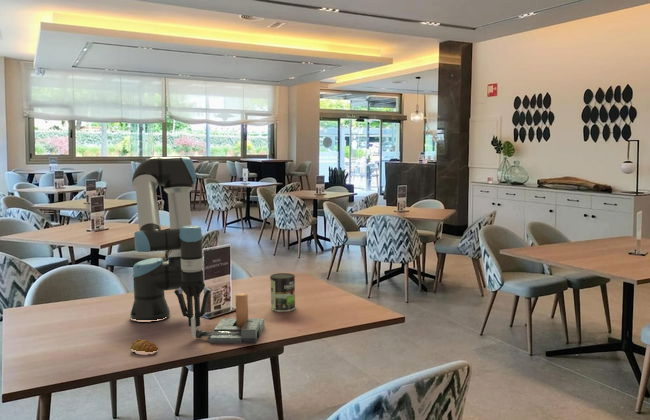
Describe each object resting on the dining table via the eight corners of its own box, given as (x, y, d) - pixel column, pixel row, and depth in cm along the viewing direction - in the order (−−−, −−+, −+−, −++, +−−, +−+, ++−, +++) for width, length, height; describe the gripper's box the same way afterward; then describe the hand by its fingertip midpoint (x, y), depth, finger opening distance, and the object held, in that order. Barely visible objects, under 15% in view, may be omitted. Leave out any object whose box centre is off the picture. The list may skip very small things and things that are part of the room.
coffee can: (300, 307, 238) (299, 274, 237) (284, 313, 230) (283, 279, 229) (282, 303, 245) (281, 271, 243) (265, 309, 236) (264, 276, 235)
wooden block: (238, 330, 211) (236, 293, 209) (249, 330, 210) (248, 293, 209) (235, 333, 206) (234, 296, 205) (247, 334, 206) (246, 296, 204)
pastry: (163, 351, 190) (163, 340, 190) (148, 358, 184) (148, 347, 184) (143, 347, 195) (142, 336, 194) (128, 353, 189) (127, 342, 188)
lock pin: (195, 339, 200) (195, 331, 199) (198, 336, 203) (198, 328, 202) (244, 339, 199) (244, 331, 198) (246, 336, 202) (245, 328, 201)
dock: (206, 343, 197) (205, 329, 196) (218, 326, 215) (218, 313, 214) (255, 343, 196) (255, 329, 195) (264, 326, 214) (264, 313, 213)
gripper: (170, 272, 195) (173, 338, 198) (207, 272, 194) (210, 338, 197) (177, 267, 202) (180, 331, 205) (213, 267, 202) (215, 331, 204)
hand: (194, 335), depth 201 cm, fingers closed
